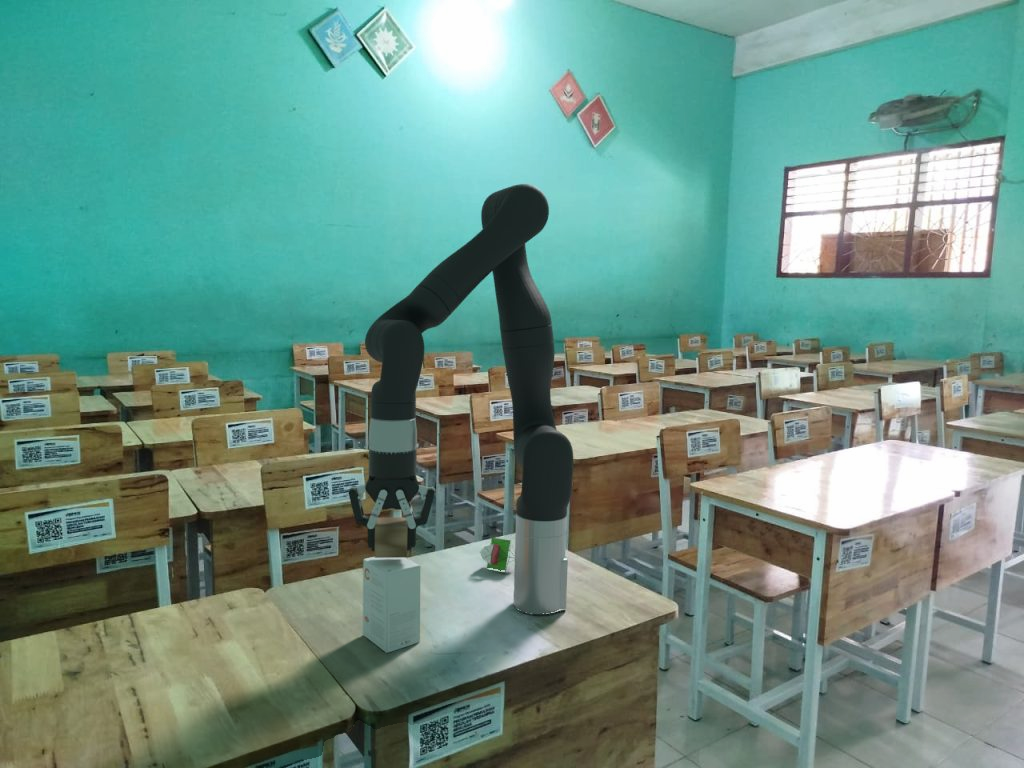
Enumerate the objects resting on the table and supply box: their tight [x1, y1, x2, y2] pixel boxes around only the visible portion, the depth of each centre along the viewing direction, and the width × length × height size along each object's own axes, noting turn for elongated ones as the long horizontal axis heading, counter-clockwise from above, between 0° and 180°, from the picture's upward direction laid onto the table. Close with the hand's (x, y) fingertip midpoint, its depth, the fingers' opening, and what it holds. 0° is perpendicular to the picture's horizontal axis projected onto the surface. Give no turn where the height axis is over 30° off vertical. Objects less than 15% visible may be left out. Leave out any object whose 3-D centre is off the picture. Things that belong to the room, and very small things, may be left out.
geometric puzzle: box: [479, 537, 515, 571], centre depth 147 cm, size 7×7×8 cm
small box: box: [362, 556, 421, 653], centre depth 115 cm, size 8×6×13 cm
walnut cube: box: [374, 516, 409, 559], centre depth 114 cm, size 5×5×5 cm
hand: (391, 549), depth 114 cm, fingers closed on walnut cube, 5 cm apart
